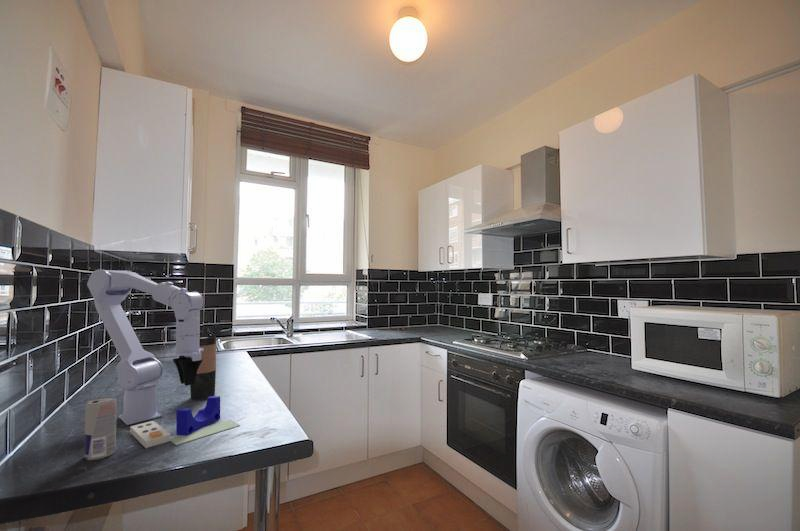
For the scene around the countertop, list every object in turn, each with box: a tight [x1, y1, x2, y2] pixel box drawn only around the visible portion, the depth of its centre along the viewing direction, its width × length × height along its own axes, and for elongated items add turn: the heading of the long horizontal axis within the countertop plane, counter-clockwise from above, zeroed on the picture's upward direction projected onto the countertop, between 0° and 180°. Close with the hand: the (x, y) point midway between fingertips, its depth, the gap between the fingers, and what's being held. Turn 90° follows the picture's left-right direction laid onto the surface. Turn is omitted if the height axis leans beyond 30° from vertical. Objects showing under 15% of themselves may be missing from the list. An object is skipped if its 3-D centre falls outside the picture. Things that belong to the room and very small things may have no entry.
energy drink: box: [83, 396, 118, 461], centre depth 80 cm, size 5×5×12 cm
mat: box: [169, 419, 241, 446], centre depth 91 cm, size 6×15×1 cm, turn 139°
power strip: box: [129, 420, 171, 449], centre depth 89 cm, size 14×5×2 cm, turn 49°
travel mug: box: [189, 335, 217, 401], centre depth 121 cm, size 8×8×20 cm
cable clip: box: [175, 395, 221, 436], centre depth 95 cm, size 12×4×6 cm, turn 168°
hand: (187, 383), depth 101 cm, fingers open, 2 cm apart
